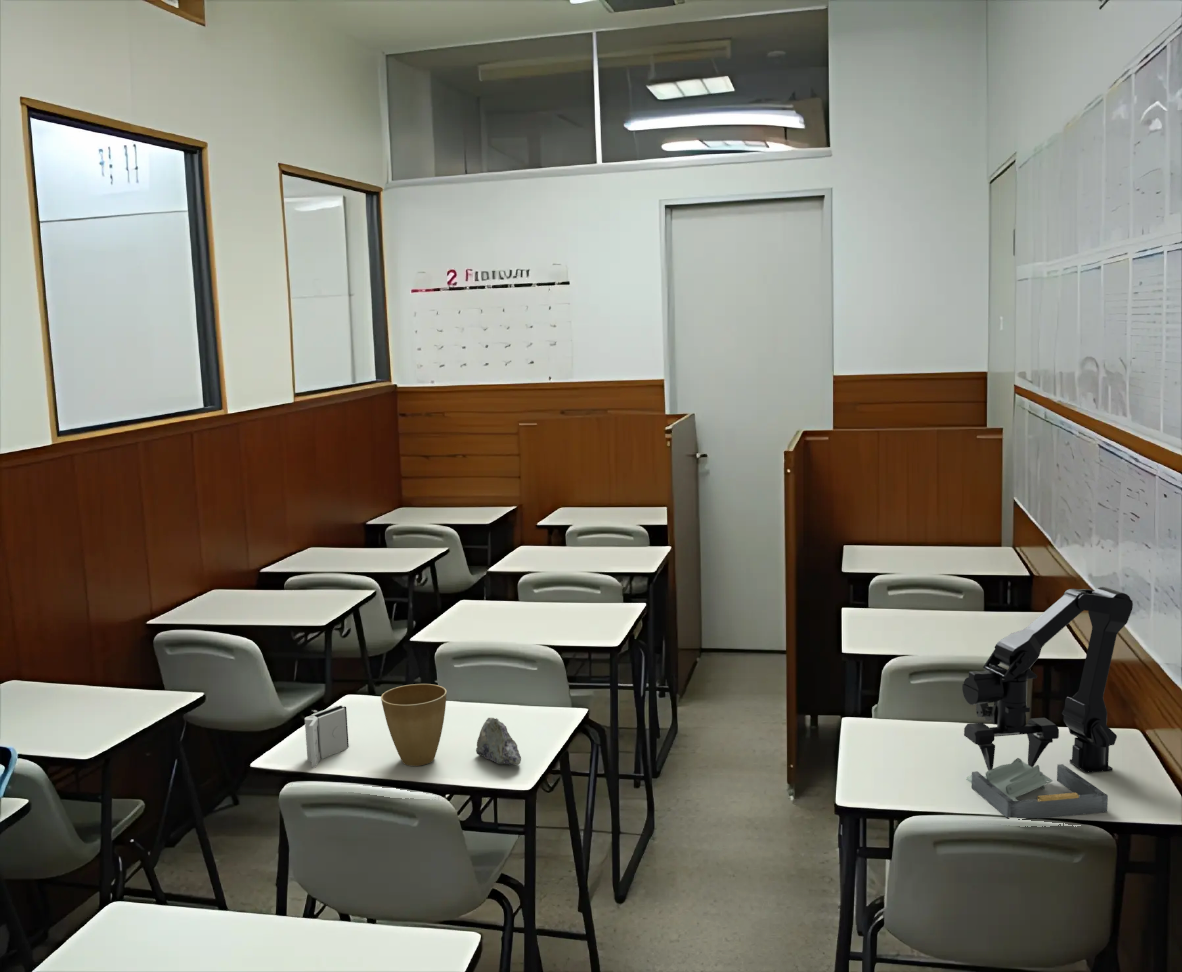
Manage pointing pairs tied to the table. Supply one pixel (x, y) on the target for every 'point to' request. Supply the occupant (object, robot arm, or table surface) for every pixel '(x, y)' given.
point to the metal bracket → (1016, 778)
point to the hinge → (326, 733)
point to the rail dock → (1046, 798)
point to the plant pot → (415, 720)
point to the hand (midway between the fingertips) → (1010, 769)
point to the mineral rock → (497, 743)
